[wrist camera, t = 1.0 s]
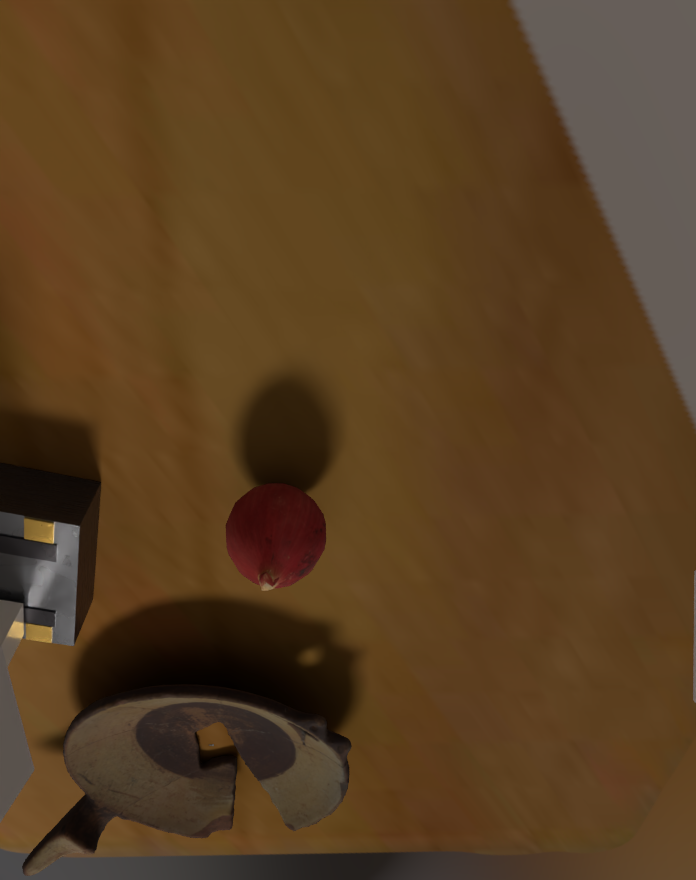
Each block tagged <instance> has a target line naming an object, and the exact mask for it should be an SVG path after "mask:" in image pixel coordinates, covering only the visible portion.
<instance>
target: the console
mask: <svg viewBox="0 0 696 880" xmlns="http://www.w3.org/2000/svg"><path fill="white" fill-rule="evenodd" d="M100 492H101V482H97V481H91V480H86V479H81V478H76V477H71V476H66V475H60V474H55V473H50V472H45V471H40V470H35V469H29V468H24V467H19V466H14V465H9V464H4V463H0V600H5V601H11V602H17V603H23V614H24V635H23V637H22V638H25V639H29V640H35V641H42V642H48V643H57V644H64V645H71V646H74V644H75V642H76V640H77V637H78V635H79V632H80V630H81V627H82V625H83V622H84V620H85V618H86V615H87V613H88V610H89V608H90V605H91V603H92V600H93V591H94V577H95V563H96V548H97V534H98V520H99V506H100Z"/></svg>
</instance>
